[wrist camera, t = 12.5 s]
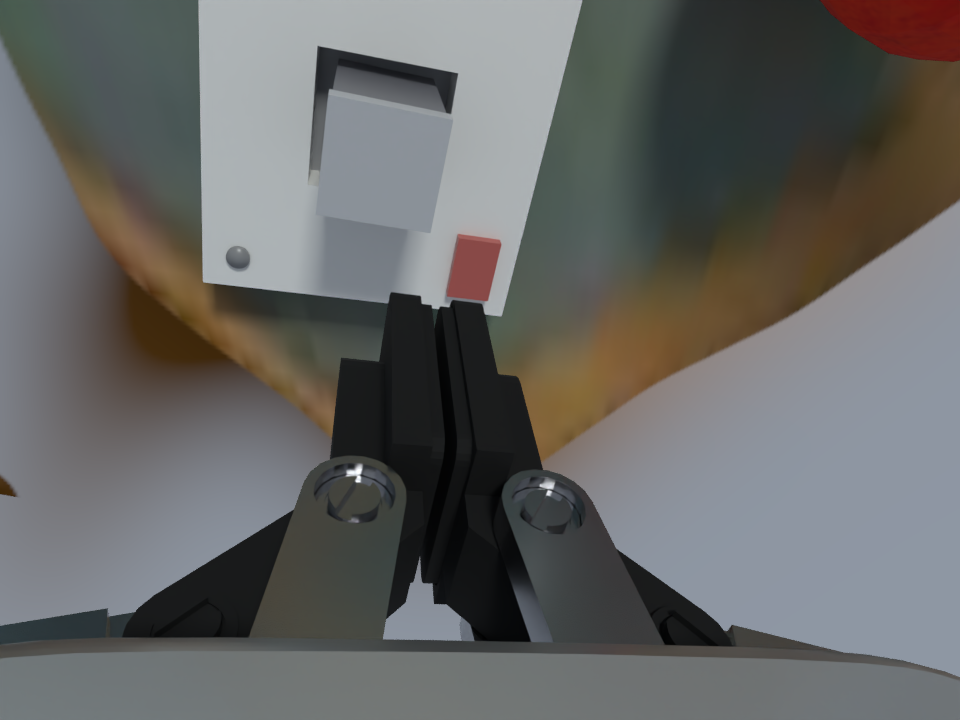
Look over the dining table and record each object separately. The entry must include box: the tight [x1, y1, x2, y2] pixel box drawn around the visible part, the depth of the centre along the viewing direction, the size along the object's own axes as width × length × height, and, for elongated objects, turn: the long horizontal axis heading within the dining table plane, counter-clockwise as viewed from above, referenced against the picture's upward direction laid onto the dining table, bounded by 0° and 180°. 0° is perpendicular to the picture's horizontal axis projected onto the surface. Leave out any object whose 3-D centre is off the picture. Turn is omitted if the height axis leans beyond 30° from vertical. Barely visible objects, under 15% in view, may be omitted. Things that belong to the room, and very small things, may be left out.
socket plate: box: [199, 0, 582, 316], centre depth 28 cm, size 14×16×3 cm
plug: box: [316, 59, 453, 233], centre depth 26 cm, size 4×4×7 cm
